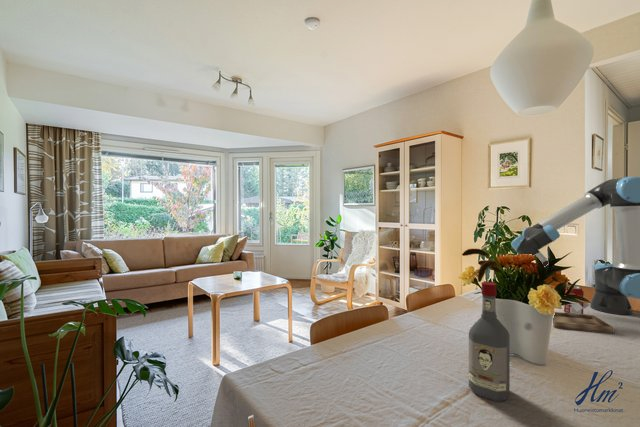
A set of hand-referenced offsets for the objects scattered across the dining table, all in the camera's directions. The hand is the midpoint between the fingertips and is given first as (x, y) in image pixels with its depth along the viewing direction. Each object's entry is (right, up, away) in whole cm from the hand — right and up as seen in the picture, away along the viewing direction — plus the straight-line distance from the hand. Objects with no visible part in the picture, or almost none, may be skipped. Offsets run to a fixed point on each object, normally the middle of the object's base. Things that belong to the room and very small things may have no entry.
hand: (583, 308), depth 130 cm
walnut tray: (-1, -8, +3) cm, 8 cm away
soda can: (-2, -4, +3) cm, 5 cm away
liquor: (-66, -9, -45) cm, 80 cm away
